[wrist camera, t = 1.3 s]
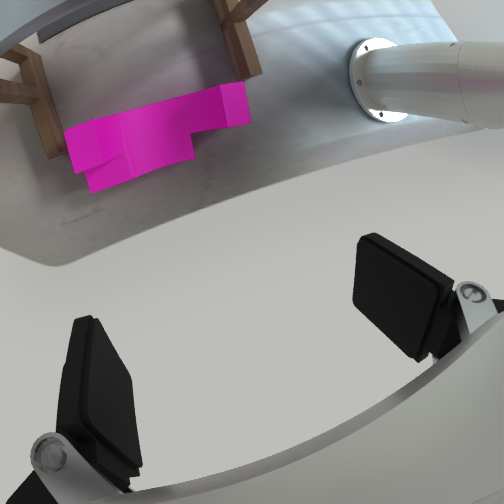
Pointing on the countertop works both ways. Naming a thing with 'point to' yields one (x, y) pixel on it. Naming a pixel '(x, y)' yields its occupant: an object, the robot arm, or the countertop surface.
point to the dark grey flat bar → (77, 17)
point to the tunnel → (62, 3)
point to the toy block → (152, 134)
